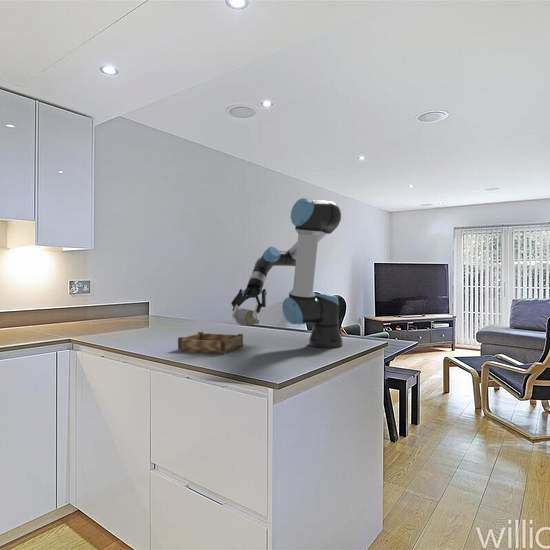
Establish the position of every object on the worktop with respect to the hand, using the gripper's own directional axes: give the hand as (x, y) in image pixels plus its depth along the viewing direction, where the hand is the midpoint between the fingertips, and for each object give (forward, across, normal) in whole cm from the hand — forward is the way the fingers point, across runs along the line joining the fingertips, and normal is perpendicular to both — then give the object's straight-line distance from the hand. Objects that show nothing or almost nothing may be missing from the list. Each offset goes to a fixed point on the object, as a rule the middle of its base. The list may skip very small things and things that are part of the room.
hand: (243, 317), depth 183 cm
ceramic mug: (0, -1, -6) cm, 6 cm away
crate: (+19, +9, +1) cm, 21 cm away
